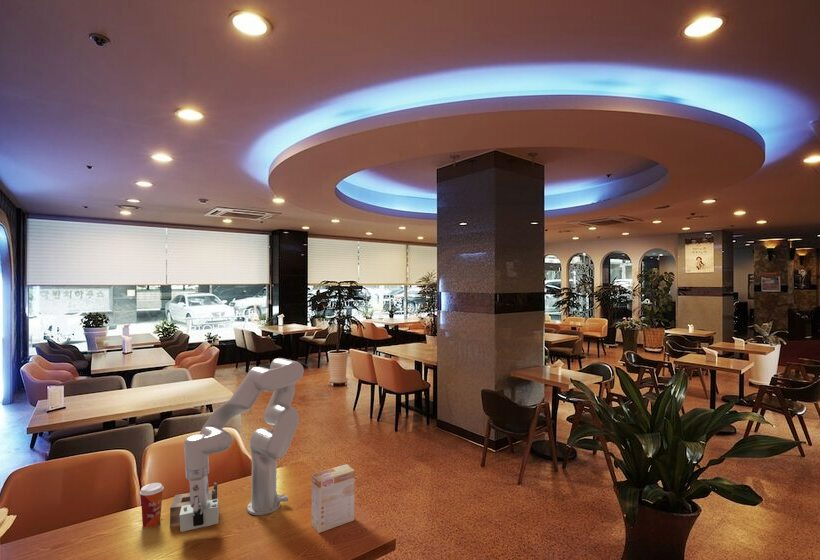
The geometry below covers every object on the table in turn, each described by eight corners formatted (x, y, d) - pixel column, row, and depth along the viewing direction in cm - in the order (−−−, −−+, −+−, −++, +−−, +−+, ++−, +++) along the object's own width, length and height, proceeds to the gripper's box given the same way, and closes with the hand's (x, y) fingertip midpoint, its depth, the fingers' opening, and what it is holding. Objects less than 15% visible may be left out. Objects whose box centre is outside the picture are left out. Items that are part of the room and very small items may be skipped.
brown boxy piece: (217, 506, 176) (217, 480, 176) (214, 519, 166) (214, 492, 166) (175, 512, 171) (175, 486, 171) (169, 526, 162) (170, 498, 162)
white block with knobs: (218, 514, 161) (217, 496, 161) (218, 523, 156) (217, 504, 156) (182, 522, 157) (181, 504, 157) (180, 531, 152) (179, 513, 151)
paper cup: (152, 531, 159) (152, 492, 159) (134, 528, 160) (134, 490, 160) (168, 519, 166) (168, 482, 166) (150, 517, 168) (151, 480, 168)
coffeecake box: (346, 512, 173) (346, 463, 173) (354, 520, 167) (355, 470, 167) (310, 524, 164) (311, 473, 164) (318, 533, 158) (319, 480, 158)
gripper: (205, 480, 148) (208, 531, 149) (211, 458, 165) (214, 504, 166) (181, 484, 146) (184, 536, 147) (189, 461, 163) (192, 508, 163)
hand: (200, 519), depth 156 cm, fingers closed on white block with knobs, 6 cm apart
